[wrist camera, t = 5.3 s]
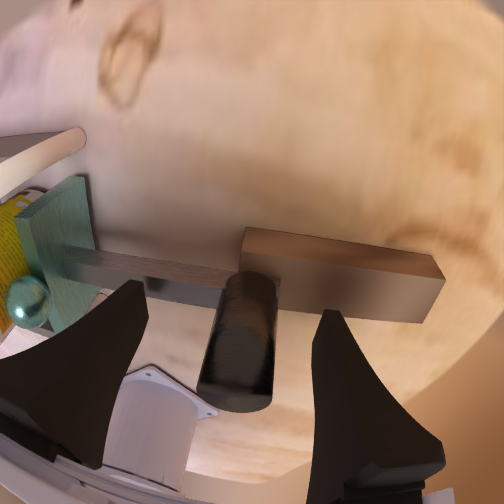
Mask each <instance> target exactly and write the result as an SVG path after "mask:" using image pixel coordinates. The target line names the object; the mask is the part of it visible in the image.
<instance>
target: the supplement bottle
mask: <svg viewBox="0 0 504 504" xmlns="http://www.w3.org/2000/svg"><path fill="white" fill-rule="evenodd" d="M43 194H44V193H42V192H40V191H37V190H30V189H29V190H24V191H21V192H19V193H18V194H16V195H15V196H13V197H12V198H10V199H9V200H7V201H6V202H4V203H3V204H1V205H0V345H1V343H2V342H3V341H4V340H5V338H6V337H7V336H8V334H9V333H10V332H11V330H12V329H13V328H14V326H15V325H16V324H14V323H13V322H12V321H11V319H10V318H9V317H8V315H7V313H6V310H5V306H4V295H5V291H6V288H7V287H8V285H9V283H10V282H11V281H12V280H13V279H15V278H16V277H18V276H21V275H31V273H30V270H29V268H28V265H27V262H26V259H25V256H24V252H23V249H22V246H21V243H20V239H19V236H18V232H17V229H16V225H15V221H14V216H16V215H17V214H18V213H19V212H21V211H22V210H23V209H25V208H26V207H27V206H28V205H30V204H31V203H32V202H34V201H35V200H36V199H38V198H39V197H41V196H42V195H43Z"/></svg>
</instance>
